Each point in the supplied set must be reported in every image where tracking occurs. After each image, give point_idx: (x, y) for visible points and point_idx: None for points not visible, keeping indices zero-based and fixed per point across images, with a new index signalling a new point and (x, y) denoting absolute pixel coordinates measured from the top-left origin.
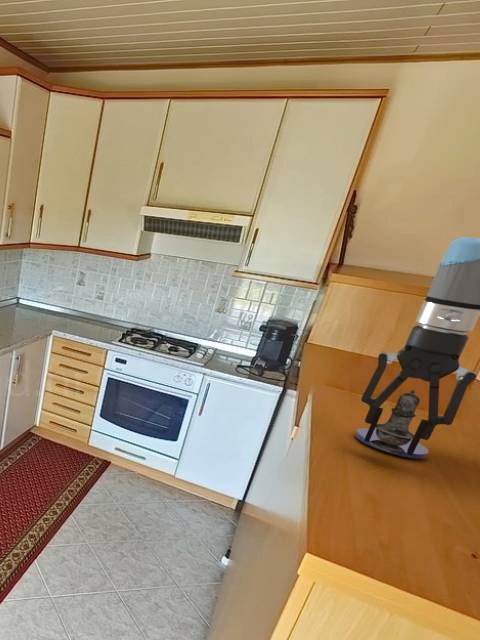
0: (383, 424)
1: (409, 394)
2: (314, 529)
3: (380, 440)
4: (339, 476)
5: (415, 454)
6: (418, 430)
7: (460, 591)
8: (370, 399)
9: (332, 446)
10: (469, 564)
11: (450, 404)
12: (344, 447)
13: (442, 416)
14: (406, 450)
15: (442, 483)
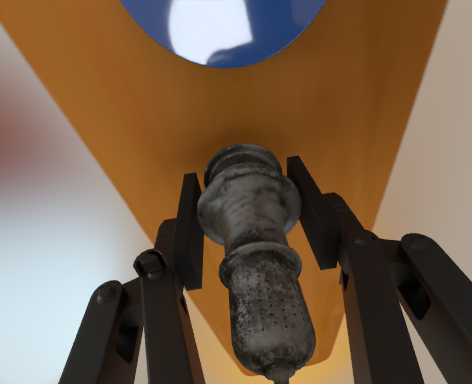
0: (216, 228)
1: (270, 377)
2: (236, 362)
3: (220, 167)
4: (211, 277)
5: (309, 23)
6: (310, 245)
7: (326, 350)
8: (142, 320)
9: (136, 163)
10: (339, 324)
11: (441, 369)
12: (152, 137)
13: (398, 270)
14: (283, 20)
15: (355, 138)
